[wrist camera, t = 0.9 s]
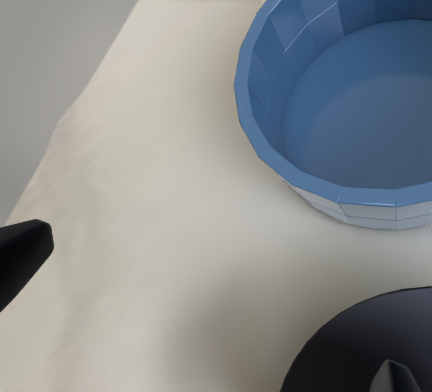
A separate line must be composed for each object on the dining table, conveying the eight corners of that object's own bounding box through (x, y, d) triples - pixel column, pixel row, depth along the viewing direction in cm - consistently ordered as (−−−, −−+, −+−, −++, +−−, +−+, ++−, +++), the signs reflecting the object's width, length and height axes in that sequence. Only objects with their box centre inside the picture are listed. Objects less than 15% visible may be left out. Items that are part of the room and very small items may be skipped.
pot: (607, 140, 15) (731, 56, 10) (341, 272, 19) (319, 267, 13) (424, -26, 21) (435, -144, 15) (243, 102, 24) (197, 47, 18)
